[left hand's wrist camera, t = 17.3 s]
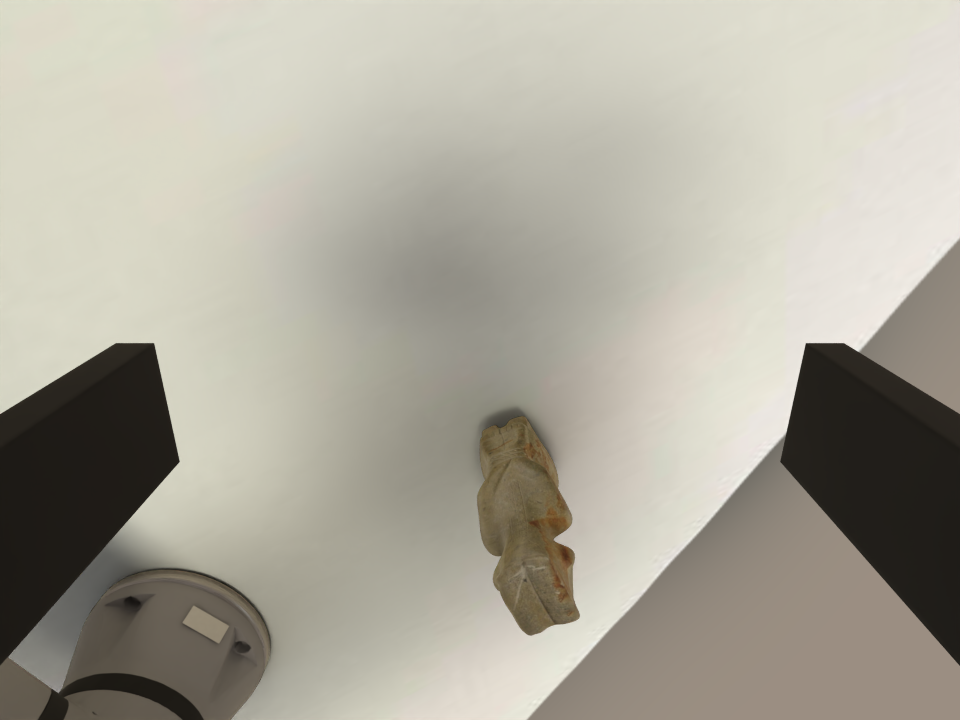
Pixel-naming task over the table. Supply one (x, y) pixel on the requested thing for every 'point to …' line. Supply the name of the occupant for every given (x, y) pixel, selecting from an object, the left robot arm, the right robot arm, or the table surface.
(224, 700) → the left robot arm
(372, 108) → the table surface
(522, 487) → the sculpture
